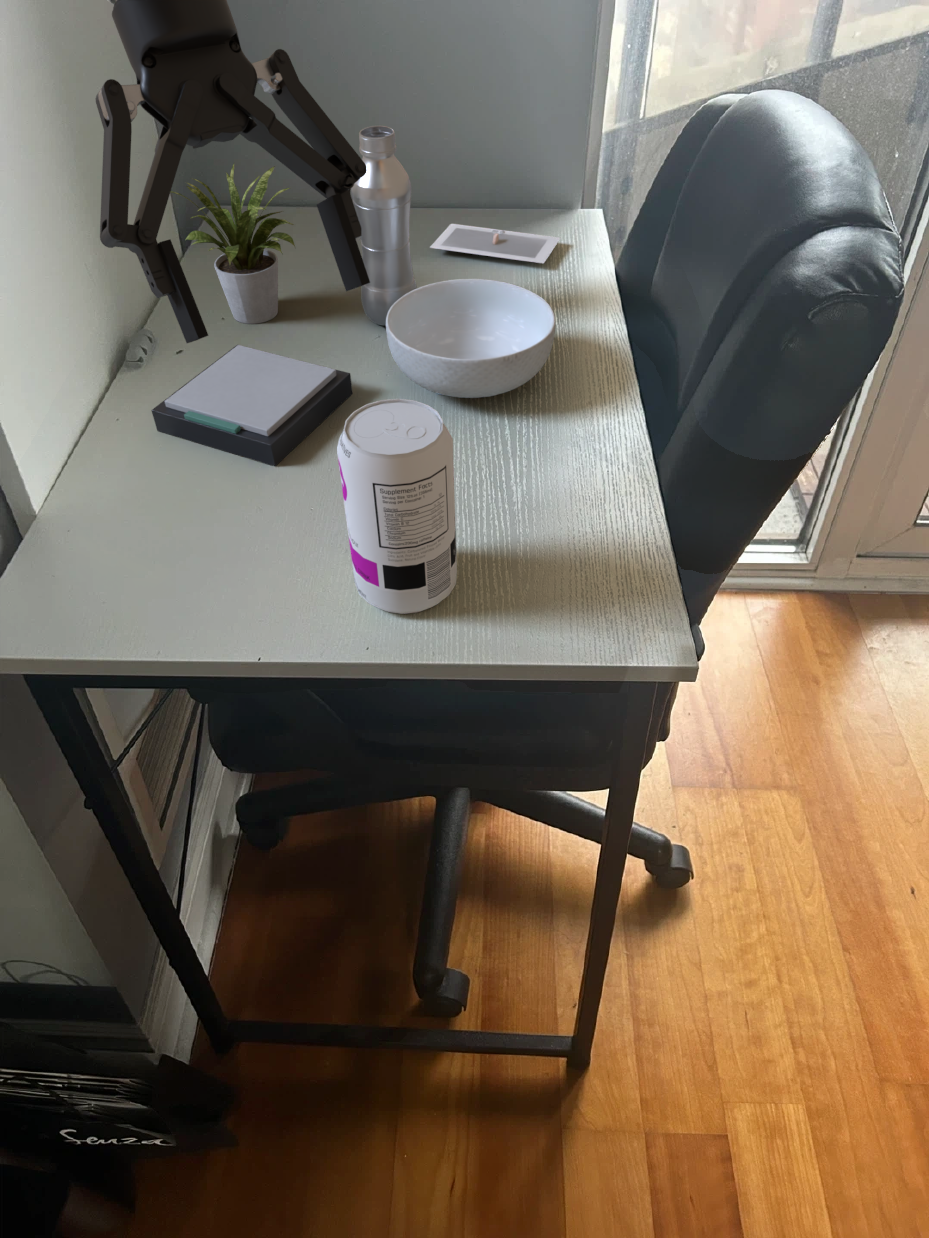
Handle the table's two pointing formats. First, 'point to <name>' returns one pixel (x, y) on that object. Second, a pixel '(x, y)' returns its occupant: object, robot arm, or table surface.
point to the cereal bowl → (470, 336)
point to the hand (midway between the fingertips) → (281, 313)
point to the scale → (253, 404)
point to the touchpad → (496, 243)
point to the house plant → (245, 251)
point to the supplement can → (399, 504)
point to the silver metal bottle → (383, 223)
